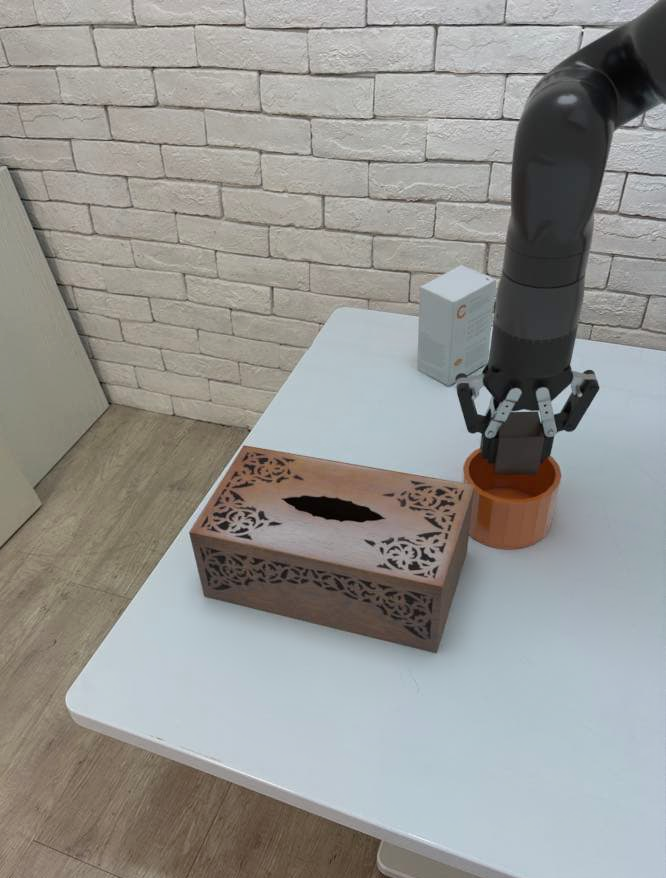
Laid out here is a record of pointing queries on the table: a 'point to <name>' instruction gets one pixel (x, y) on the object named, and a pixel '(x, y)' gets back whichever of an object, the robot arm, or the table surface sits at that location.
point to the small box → (455, 323)
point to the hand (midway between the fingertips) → (514, 458)
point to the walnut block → (519, 445)
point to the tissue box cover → (335, 544)
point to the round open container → (511, 503)
